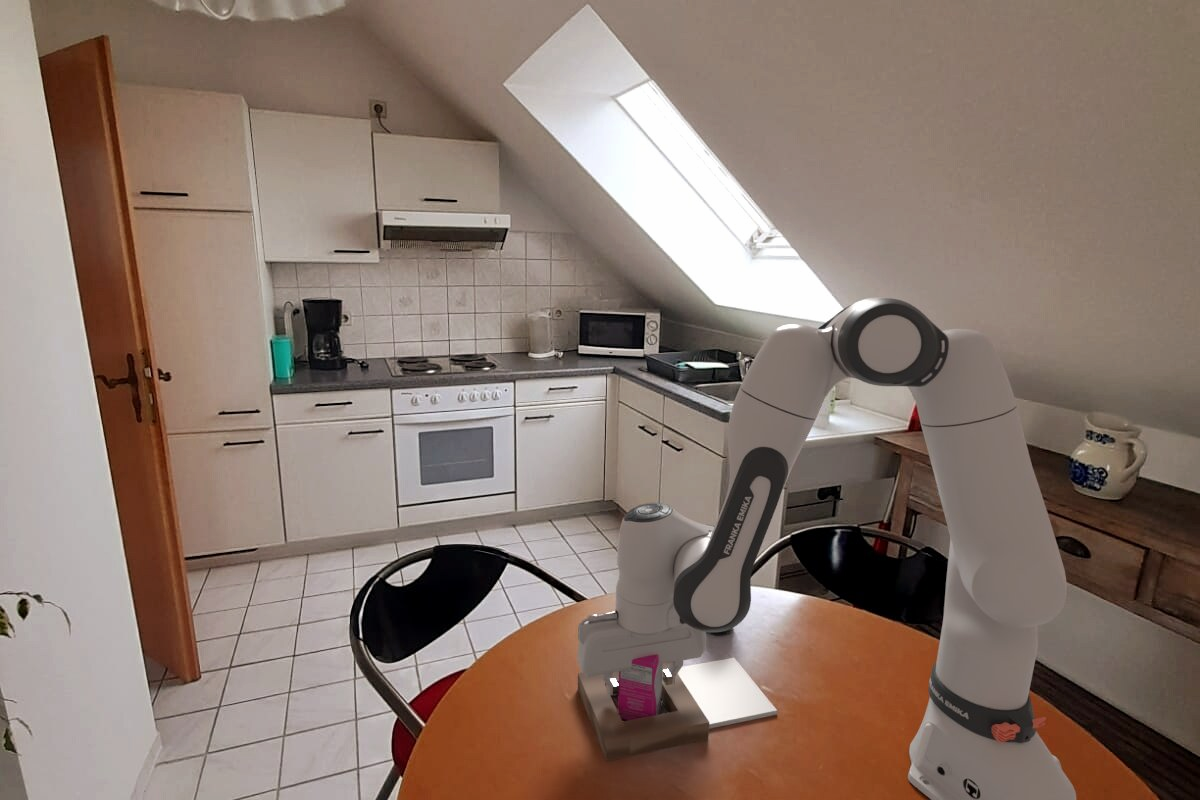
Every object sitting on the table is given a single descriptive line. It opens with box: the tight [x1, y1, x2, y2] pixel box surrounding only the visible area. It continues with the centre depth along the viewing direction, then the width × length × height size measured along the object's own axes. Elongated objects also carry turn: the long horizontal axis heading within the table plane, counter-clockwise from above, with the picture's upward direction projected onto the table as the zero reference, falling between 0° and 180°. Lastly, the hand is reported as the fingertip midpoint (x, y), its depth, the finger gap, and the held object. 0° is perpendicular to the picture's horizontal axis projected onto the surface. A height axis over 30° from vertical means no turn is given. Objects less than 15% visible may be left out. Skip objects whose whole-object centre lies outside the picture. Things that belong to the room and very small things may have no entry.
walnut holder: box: [577, 663, 710, 762], centre depth 100 cm, size 16×16×3 cm
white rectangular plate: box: [678, 657, 778, 730], centre depth 105 cm, size 14×12×1 cm
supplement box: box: [617, 654, 663, 722], centre depth 99 cm, size 6×6×12 cm
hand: (640, 687), depth 99 cm, fingers open, 8 cm apart
